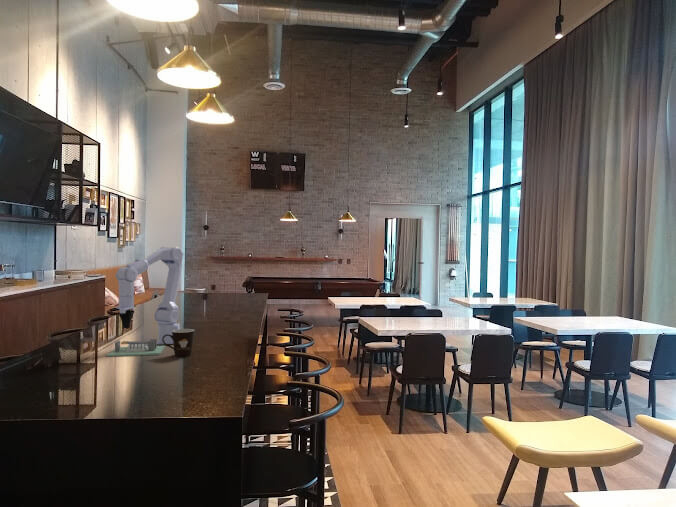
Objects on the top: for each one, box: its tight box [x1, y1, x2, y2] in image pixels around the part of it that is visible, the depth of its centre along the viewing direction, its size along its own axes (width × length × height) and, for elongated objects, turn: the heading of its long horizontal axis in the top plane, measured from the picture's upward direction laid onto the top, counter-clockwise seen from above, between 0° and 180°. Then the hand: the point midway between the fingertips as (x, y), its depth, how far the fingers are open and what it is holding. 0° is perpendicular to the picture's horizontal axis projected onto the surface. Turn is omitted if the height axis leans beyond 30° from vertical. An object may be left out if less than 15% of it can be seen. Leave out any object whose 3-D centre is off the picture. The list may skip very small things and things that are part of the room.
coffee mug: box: [162, 328, 195, 358], centre depth 193 cm, size 12×9×10 cm
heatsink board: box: [106, 338, 166, 358], centre depth 199 cm, size 20×15×5 cm
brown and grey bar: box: [120, 340, 155, 345], centre depth 199 cm, size 13×4×2 cm, turn 102°
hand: (126, 328), depth 198 cm, fingers closed
